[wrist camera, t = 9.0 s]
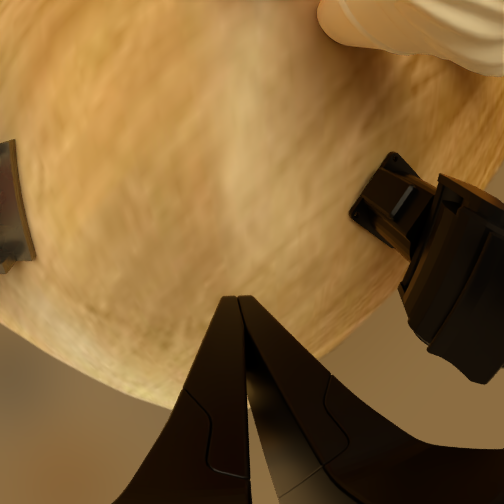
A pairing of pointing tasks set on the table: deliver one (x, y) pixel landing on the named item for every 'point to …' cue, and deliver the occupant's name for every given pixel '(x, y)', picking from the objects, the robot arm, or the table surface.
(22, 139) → the table surface
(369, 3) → the soft serve ice cream cone
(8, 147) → the press stand
